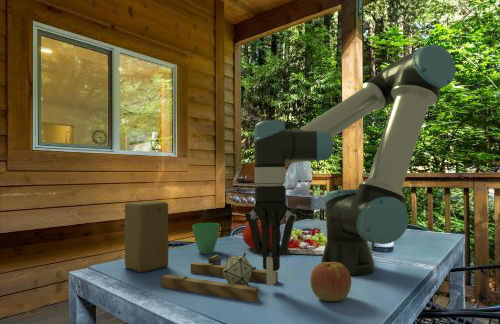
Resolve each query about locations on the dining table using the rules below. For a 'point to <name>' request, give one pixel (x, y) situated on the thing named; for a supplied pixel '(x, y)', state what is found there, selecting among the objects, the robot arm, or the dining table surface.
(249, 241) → the tomato
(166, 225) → the wooden block
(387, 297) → the dining table surface
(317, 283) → the apple
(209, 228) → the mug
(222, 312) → the dining table surface
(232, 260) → the game die
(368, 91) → the robot arm
